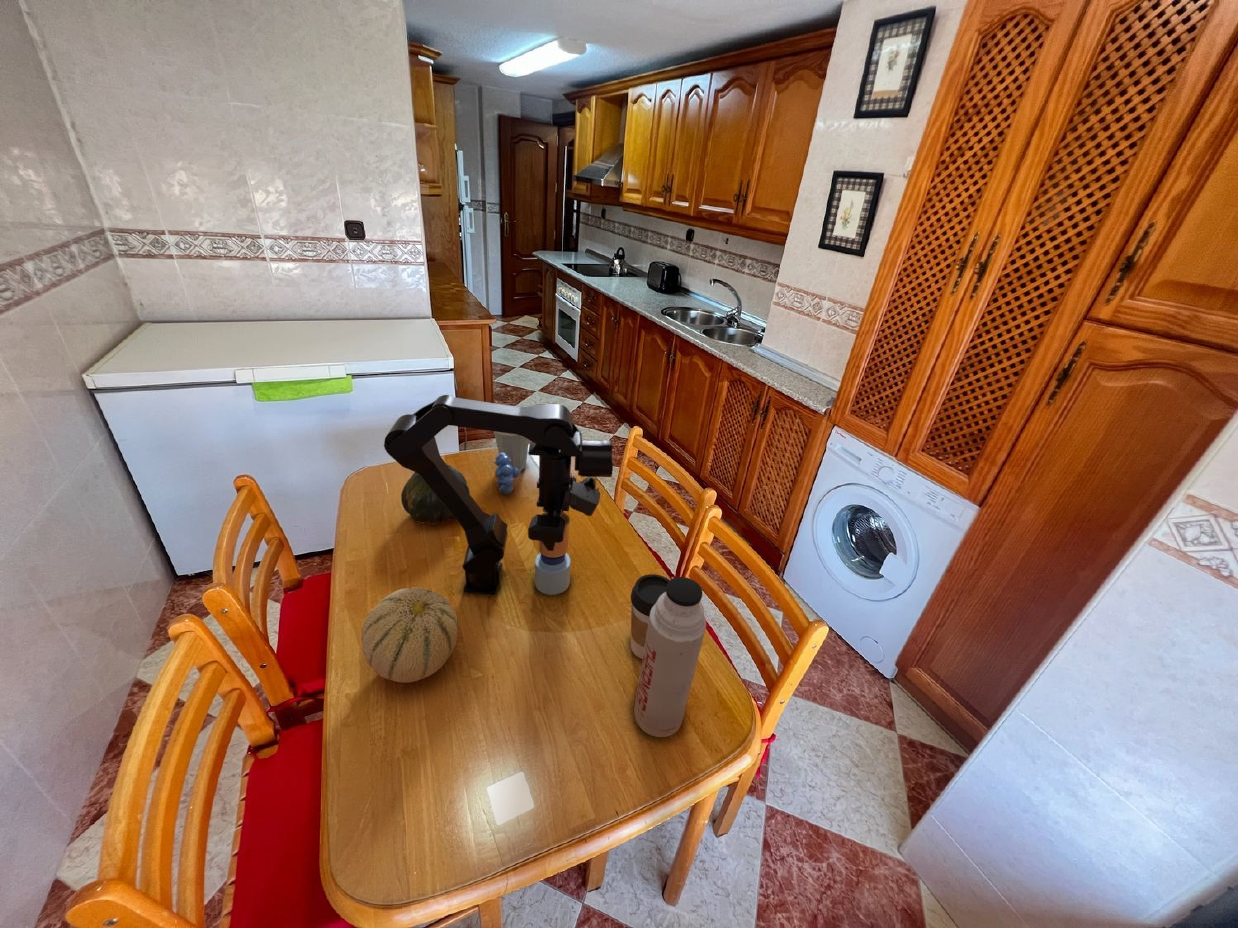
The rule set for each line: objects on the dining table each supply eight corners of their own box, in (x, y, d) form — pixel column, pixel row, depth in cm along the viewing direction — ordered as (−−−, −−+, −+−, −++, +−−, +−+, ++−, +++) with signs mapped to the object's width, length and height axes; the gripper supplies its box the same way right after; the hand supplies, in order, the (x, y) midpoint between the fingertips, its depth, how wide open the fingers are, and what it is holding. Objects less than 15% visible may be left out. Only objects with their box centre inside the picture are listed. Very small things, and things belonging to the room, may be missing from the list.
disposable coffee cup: (519, 480, 136) (518, 431, 129) (486, 470, 139) (483, 422, 131) (538, 462, 145) (538, 416, 137) (506, 453, 148) (504, 408, 140)
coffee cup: (637, 672, 87) (647, 612, 79) (616, 636, 93) (623, 578, 86) (677, 656, 91) (690, 597, 83) (654, 623, 97) (664, 565, 89)
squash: (388, 486, 119) (400, 463, 108) (448, 470, 129) (464, 447, 117) (410, 540, 117) (425, 523, 106) (468, 519, 127) (488, 501, 115)
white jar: (531, 592, 101) (531, 561, 97) (538, 568, 107) (538, 538, 103) (566, 596, 101) (568, 565, 97) (571, 572, 107) (573, 541, 103)
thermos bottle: (636, 738, 77) (659, 611, 63) (631, 691, 84) (651, 567, 70) (686, 736, 78) (720, 611, 64) (677, 690, 85) (706, 568, 70)
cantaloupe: (370, 639, 88) (354, 577, 81) (456, 620, 93) (449, 560, 86) (368, 713, 77) (349, 649, 69) (466, 686, 82) (458, 624, 74)
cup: (535, 555, 97) (535, 527, 93) (541, 536, 102) (541, 509, 98) (566, 559, 97) (567, 530, 93) (570, 539, 102) (571, 512, 98)
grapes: (526, 502, 128) (526, 462, 122) (500, 506, 125) (498, 466, 119) (516, 479, 137) (515, 440, 131) (491, 482, 134) (489, 443, 128)
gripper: (593, 507, 82) (588, 577, 90) (602, 453, 98) (597, 516, 106) (527, 500, 82) (527, 570, 90) (547, 447, 98) (546, 510, 106)
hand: (553, 539), depth 98 cm, fingers closed on cup, 6 cm apart
